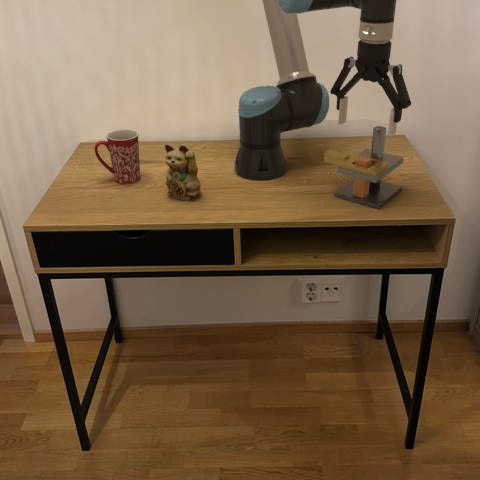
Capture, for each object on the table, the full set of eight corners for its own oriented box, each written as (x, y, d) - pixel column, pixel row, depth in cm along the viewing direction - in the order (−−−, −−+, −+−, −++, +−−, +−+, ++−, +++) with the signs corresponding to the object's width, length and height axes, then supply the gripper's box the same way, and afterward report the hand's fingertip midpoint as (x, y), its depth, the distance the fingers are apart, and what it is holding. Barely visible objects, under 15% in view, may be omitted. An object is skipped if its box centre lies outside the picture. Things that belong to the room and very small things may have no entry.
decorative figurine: (162, 199, 158) (157, 146, 150) (173, 186, 164) (169, 135, 157) (196, 203, 155) (193, 149, 148) (206, 189, 162) (203, 138, 154)
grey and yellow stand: (317, 193, 158) (320, 132, 149) (346, 174, 168) (350, 115, 160) (376, 211, 149) (383, 146, 140) (403, 189, 159) (411, 128, 150)
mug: (144, 171, 174) (139, 127, 167) (142, 184, 166) (137, 139, 159) (101, 173, 173) (94, 130, 167) (97, 187, 166) (90, 141, 159)
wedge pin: (352, 195, 154) (355, 159, 149) (358, 190, 156) (361, 155, 151) (363, 197, 152) (366, 162, 147) (368, 193, 154) (371, 158, 149)
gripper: (319, 36, 139) (315, 122, 150) (420, 50, 125) (407, 144, 136) (335, 30, 144) (330, 114, 155) (434, 43, 130) (420, 134, 141)
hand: (366, 128), depth 145 cm, fingers open, 13 cm apart
